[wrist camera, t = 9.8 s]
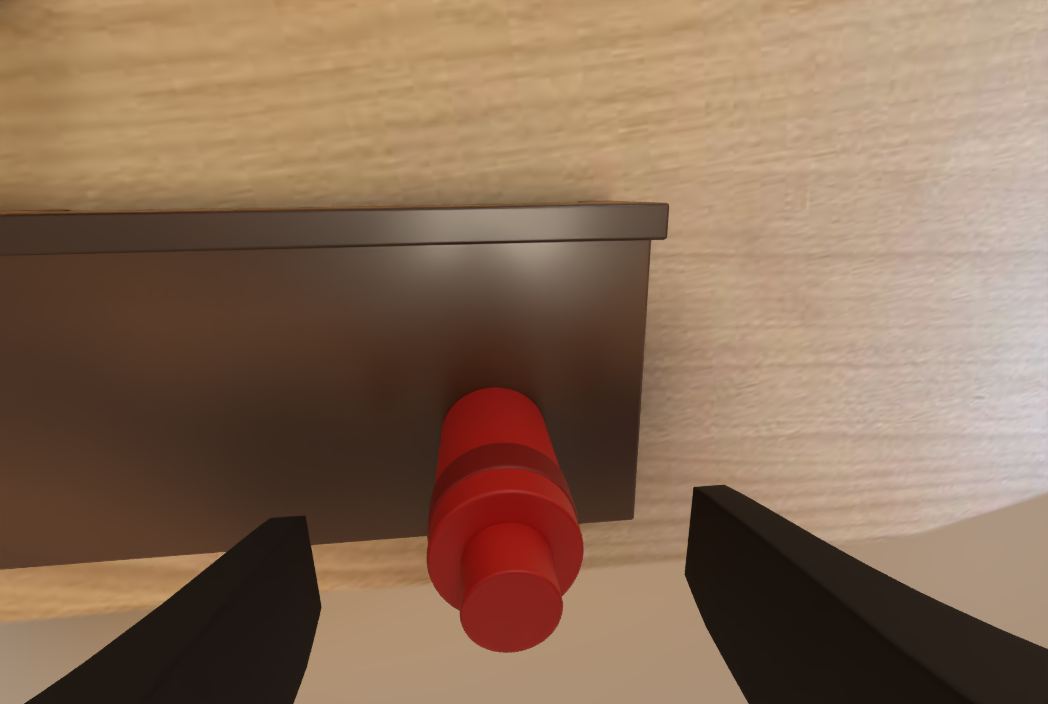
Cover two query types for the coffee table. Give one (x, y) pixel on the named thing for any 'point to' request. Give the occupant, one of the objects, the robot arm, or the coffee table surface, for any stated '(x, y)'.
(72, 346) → the shelf
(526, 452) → the red bottle
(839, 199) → the coffee table surface
